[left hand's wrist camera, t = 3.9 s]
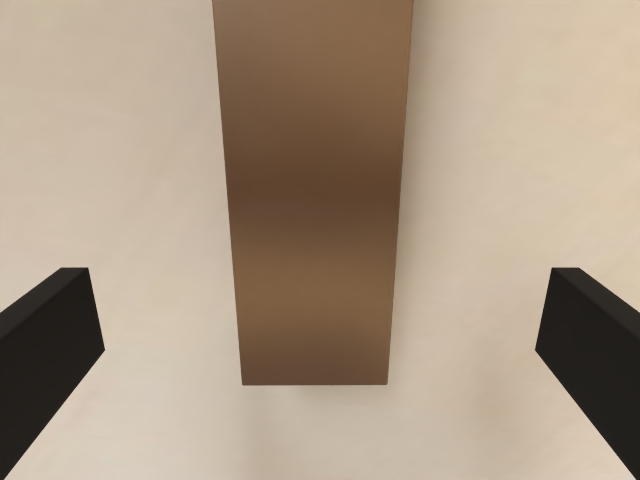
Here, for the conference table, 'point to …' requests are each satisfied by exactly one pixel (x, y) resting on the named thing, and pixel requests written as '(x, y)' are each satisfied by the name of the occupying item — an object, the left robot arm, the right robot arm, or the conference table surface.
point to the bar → (313, 182)
